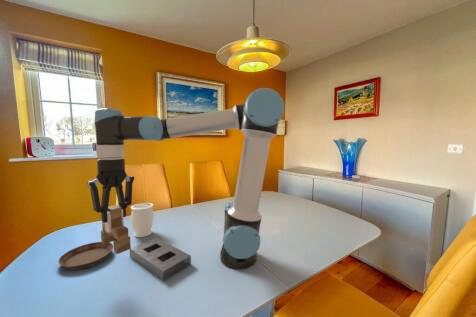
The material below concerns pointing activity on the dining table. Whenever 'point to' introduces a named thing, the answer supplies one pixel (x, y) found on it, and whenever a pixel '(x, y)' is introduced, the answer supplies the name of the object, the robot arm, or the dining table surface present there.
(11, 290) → the dining table surface
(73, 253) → the plant saucer
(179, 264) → the grey slotted base block
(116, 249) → the brown wooden branched block
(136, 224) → the jar
